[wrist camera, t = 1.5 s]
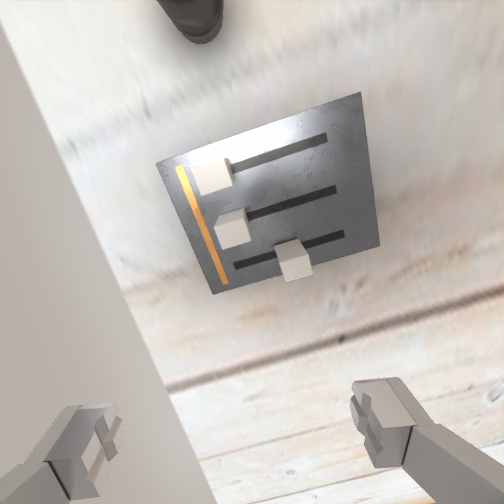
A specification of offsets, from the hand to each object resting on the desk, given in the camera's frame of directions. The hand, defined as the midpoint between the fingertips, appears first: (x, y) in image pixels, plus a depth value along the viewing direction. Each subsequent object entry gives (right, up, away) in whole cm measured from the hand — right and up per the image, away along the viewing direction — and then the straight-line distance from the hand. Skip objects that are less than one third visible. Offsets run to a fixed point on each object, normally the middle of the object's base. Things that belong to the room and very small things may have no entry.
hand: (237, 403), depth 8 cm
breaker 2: (-2, +9, +19) cm, 21 cm away
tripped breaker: (+5, +5, +21) cm, 22 cm away
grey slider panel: (+3, +11, +21) cm, 24 cm away
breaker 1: (-3, +14, +17) cm, 22 cm away
